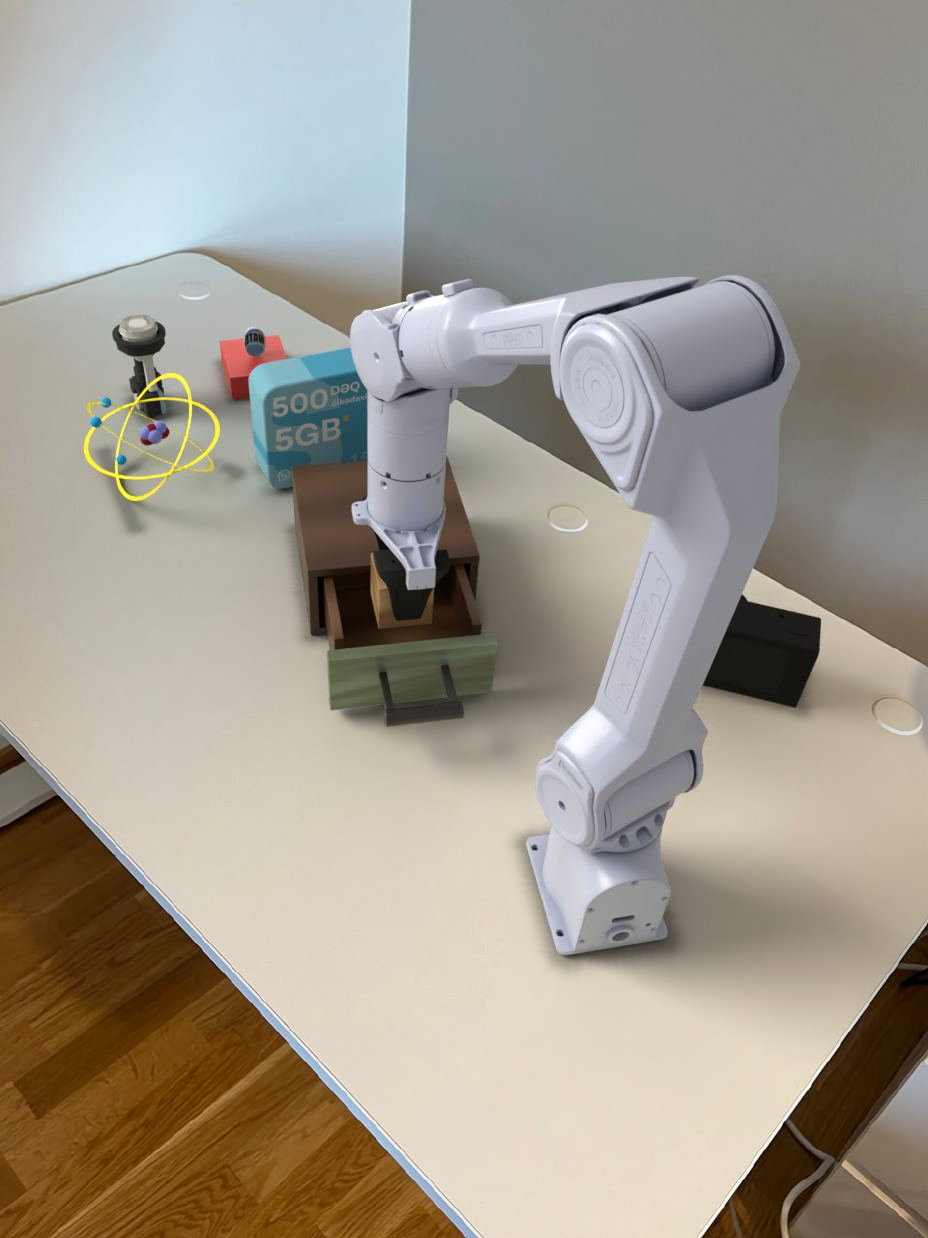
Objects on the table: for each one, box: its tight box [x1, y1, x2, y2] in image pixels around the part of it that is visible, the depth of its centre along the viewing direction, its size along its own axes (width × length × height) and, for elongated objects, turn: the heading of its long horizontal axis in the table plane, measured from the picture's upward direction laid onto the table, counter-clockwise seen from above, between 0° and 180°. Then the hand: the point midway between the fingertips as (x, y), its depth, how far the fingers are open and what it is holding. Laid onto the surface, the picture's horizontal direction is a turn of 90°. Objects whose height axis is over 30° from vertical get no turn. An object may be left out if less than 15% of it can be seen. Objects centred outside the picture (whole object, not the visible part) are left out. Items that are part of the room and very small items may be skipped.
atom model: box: [83, 372, 221, 502], centre depth 104 cm, size 14×15×14 cm
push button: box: [111, 314, 167, 419], centre depth 114 cm, size 7×5×10 cm
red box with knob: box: [219, 326, 288, 401], centre depth 120 cm, size 8×7×6 cm
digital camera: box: [702, 593, 822, 708], centre depth 91 cm, size 10×5×7 cm, turn 74°
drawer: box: [320, 564, 498, 728], centre depth 88 cm, size 19×13×6 cm
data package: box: [249, 346, 368, 490], centre depth 107 cm, size 12×4×12 cm, turn 116°
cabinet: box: [291, 454, 481, 636], centre depth 97 cm, size 15×15×8 cm
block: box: [371, 553, 434, 629], centre depth 86 cm, size 4×4×4 cm
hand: (402, 595), depth 87 cm, fingers closed on block, 4 cm apart
